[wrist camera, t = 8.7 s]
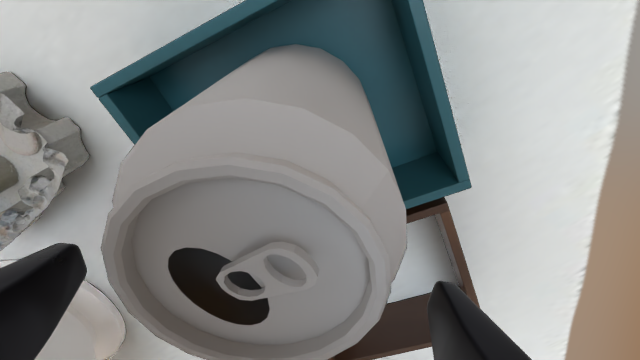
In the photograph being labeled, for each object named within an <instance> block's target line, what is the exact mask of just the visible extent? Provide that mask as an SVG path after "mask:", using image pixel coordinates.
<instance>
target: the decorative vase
mask: <svg viewBox="0 0 640 360" xmlns="http://www.w3.org/2000/svg"><path fill="white" fill-rule="evenodd" d="M15 261H18V260H6V261H0V268H2V267H4V266H6V265H8V264H11V263H13V262H15ZM125 333H126V329H125V323H124V320H123V318H122V316H121V314H120V312H119V311H118V309H117V308H116V306H115V305H114V304H113V303H112V302H111V301H110V300H109V299H108V298H107V297H106V296H105V295H104V294H103V293H102V292H100V291H99V290H98V289H96V288H95V287H94V286H92V285H91V284H89V283H88V282H86V281H84V280H83V282H82V284H81V286H80V287H79V289H78V291H77V292H76V294H75V296H74V298H73V299H72V301H71V303H70V305H69V306H68V308H67V310H66V311H65V313H64V315H63V317H62V318H61V320H60V322H59V323H58V325H57V327H56V329H55V330H54V332H53V333H52V335H51V337H50V338H49V340H48V341H47V343H46V344H45V346H44V347H43V348H42V350H41V351H40V353H39V354H38V355H37V357H36V358H35V360H104V359H107V358H109V357H110V356H112V355H113V354H114V353H115V352H116V351H117V350H118V349H119V347H120V346H121V344H122V342H123V341H124V338H125Z"/></svg>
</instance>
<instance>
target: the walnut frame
mask: <svg viewBox="0 0 640 360" xmlns="http://www.w3.org/2000/svg"><path fill="white" fill-rule="evenodd" d="M432 215H435V217H436V220H437V223H438V226H439V229H440V232H441V235H442V237H443V240H444V243H445V246H446V249H447V252H448V255H449V258H450V261H451V264H452V267H453V270H454V273H455V276H456V278H457V281H458V284H459V286H458V287H459V288H460V289H461V290H462V291H463V292H464V293H465V294H466V295H467V296H468V297H469V298H470V299H471V300H472V301H473V302H474V303H475V304H476V305H477V306H478V307H479V308H480V306H479V303H478V300H477V296H476V293H475V290H474V287H473V284H472V280H471V277H470V274H469V271H468V268H467V264H466V261H465V258H464V255H463V251H462V248H461V245H460V242H459V239H458V235H457V232H456V229H455V226H454V223H453V219H452V216H451V213H450V210H449V207H448V203H447V201H446V200H445V198H444V197H442V198H439V199H436V200H433V201H430V202H427V203H424V204H421V205H417V206H414V207H411V208H408V209H406V224H407V223H410V222H413V221H417V220H420V219H423V218H426V217H429V216H432ZM430 296H431V293H429V294H425V295H421V296H417V297H413V298H410V299H406V300H402V301H398V302H394V303H390V304H387V305H385V308H384V310H383V313H382V315H381V318H380V320H379V321H378V322H377V323H376V324H375V325H374V326H373V327H372V328H371V329H370V330H369V332H368V333H367V334H366V335H365V336H364V337H363V338H362V339H361V340H360V341H359V342H358V343H356V344H355V345H353V346H351V347H349V348H348V349H346V350H344V351H342V352H340V353H338V354H336V355H335V356H333V357H331V358H329V359H327V360H373V359H377V358H382V357H386V356H391V355H396V354H400V353H405V352H409V351H414V350H418V349H423V348H427V347H432V341H431V335H430V328H429V321H428V314H427V304H428V301H429V298H430Z"/></svg>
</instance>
